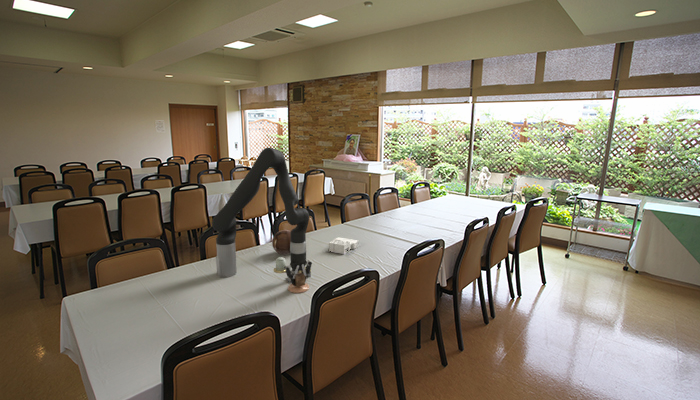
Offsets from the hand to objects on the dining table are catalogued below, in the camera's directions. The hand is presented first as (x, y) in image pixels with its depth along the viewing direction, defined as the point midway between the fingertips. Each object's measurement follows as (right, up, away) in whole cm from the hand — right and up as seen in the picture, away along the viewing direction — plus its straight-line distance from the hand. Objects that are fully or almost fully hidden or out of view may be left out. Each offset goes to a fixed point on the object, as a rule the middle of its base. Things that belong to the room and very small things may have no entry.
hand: (298, 283), depth 167 cm
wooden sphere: (-15, +7, +45) cm, 48 cm away
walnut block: (0, 0, 0) cm, 0 cm away
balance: (-4, 0, +9) cm, 10 cm away
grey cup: (-9, +6, +4) cm, 12 cm away
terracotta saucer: (0, -2, 0) cm, 2 cm away
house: (+21, +9, +59) cm, 63 cm away
